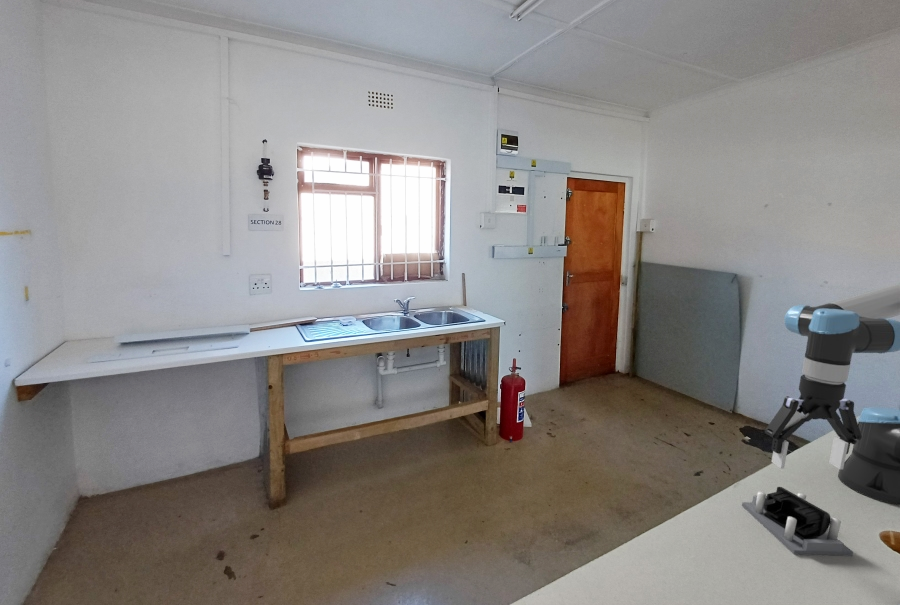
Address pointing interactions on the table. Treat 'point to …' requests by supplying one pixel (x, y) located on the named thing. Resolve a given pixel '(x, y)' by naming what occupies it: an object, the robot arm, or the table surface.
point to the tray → (796, 539)
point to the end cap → (797, 514)
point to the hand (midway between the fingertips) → (806, 465)
